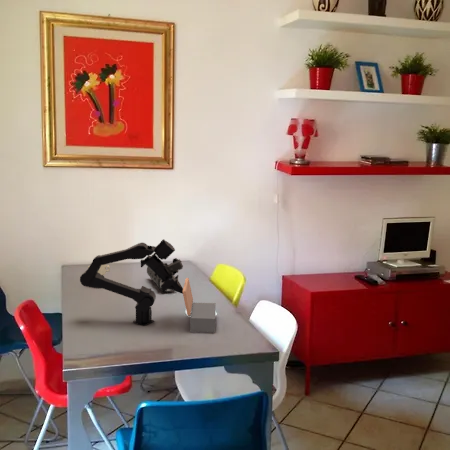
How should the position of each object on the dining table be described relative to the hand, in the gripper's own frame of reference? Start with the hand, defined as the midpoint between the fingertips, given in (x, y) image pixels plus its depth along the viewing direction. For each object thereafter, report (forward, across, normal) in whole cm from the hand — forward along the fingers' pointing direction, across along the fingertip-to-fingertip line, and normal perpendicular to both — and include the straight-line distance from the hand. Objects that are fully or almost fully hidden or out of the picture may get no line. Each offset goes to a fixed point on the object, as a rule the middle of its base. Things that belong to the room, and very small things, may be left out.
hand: (184, 292), depth 222 cm
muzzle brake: (-2, +54, +21) cm, 58 cm away
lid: (+3, 0, -1) cm, 3 cm away
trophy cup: (-24, +51, +43) cm, 71 cm away
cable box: (+15, +5, +4) cm, 16 cm away
